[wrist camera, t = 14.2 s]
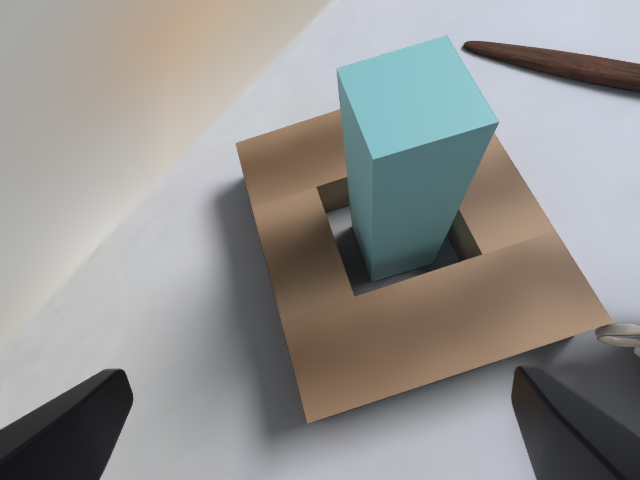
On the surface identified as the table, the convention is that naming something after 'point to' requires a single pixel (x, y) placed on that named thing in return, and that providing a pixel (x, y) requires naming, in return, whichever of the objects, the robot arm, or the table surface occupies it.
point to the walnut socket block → (411, 294)
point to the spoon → (563, 63)
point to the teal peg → (410, 150)
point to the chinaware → (620, 329)
